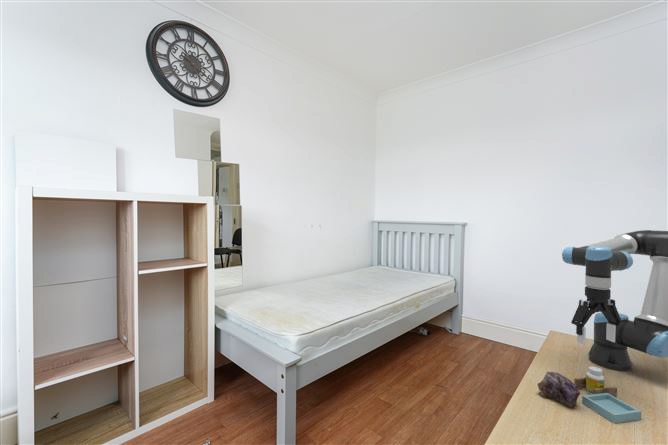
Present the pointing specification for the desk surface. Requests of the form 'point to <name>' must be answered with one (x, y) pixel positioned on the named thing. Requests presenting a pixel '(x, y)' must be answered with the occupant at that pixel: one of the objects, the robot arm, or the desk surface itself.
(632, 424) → the desk surface
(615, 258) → the robot arm
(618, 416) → the tray
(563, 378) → the rock
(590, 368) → the supplement bottle
